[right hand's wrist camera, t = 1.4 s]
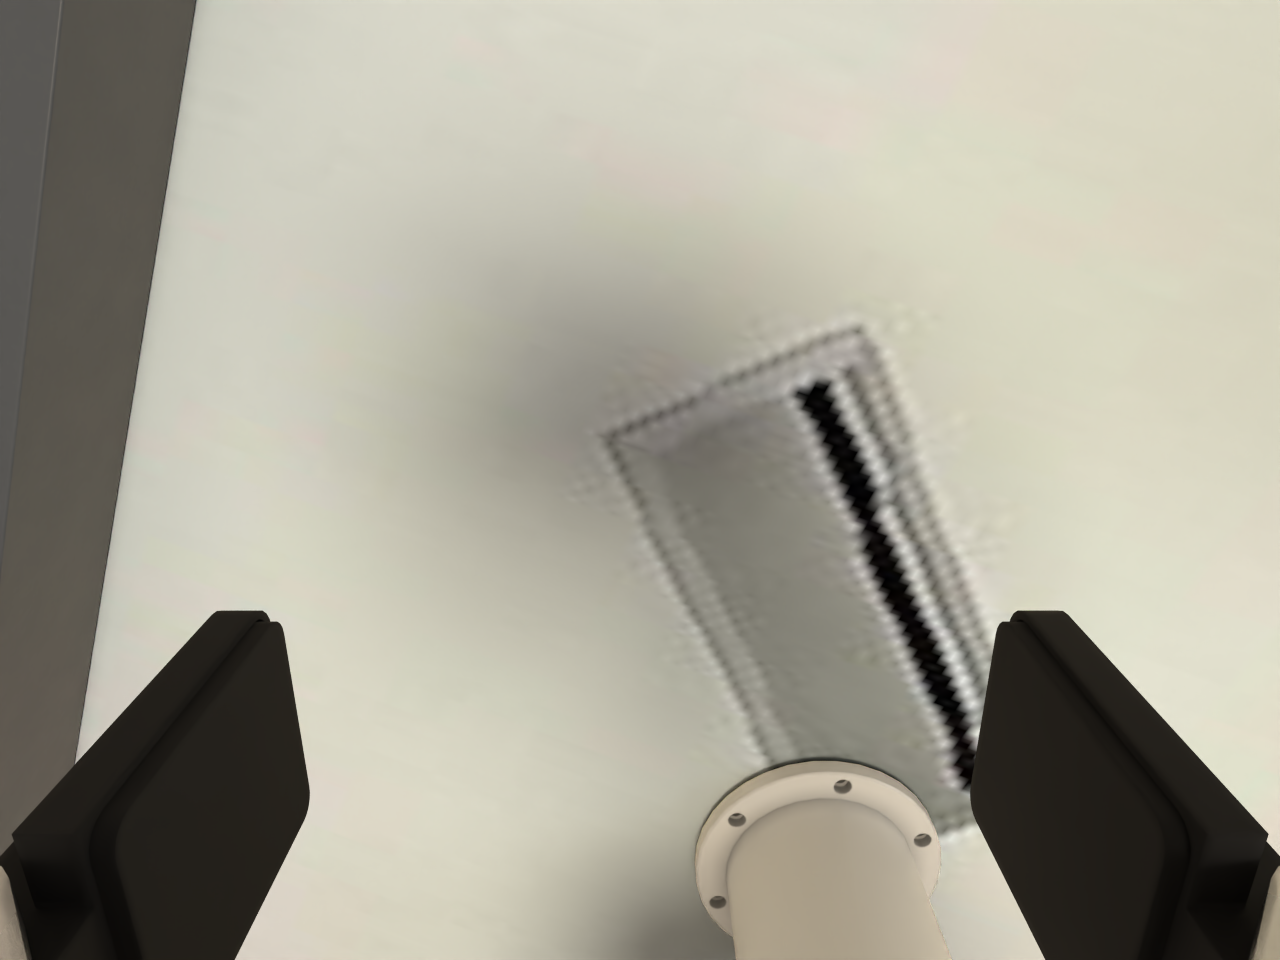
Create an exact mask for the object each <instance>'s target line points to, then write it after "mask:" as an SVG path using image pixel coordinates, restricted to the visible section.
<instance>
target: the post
mask: <svg viewBox="0 0 1280 960" xmlns="http://www.w3.org/2000/svg"><path fill="white" fill-rule="evenodd" d="M195 1H196V0H0V856H1V855H2V854H3V853H4V851H5V850H6V849H7V848H8V847H9V846H10V845H11V844H12V843H13V837H12V833H13V832H14V831H15V830H16V829H17V827H18V826H19V825H20V824H21V823H22V822H23V821H24V820H25V819H26V818H27V816H28V815H29V814H30V813H31V812H32V811H33V810H34V809H35V808H36V807H37V806H38V804H39V803H40V802H41V801H42V800H43V799H44V798H45V797H46V796H47V795H48V794H49V792H50V791H51V790H52V789H53V788H54V787H55V786H56V785H57V784H58V783H59V782H60V780H61V779H62V778H63V777H64V776H65V775H66V774H67V773H68V772H69V771H70V769H71V768H72V767H73V766H74V761H75V755H76V748H77V742H78V736H79V729H80V723H81V717H82V711H83V704H84V698H85V692H86V686H87V679H88V673H89V667H90V660H91V654H92V648H93V642H94V635H95V629H96V623H97V616H98V610H99V604H100V598H101V591H102V585H103V579H104V573H105V566H106V560H107V554H108V547H109V541H110V535H111V529H112V522H113V516H114V510H115V503H116V497H117V491H118V485H119V478H120V472H121V466H122V460H123V453H124V447H125V441H126V434H127V428H128V422H129V416H130V409H131V403H132V397H133V391H134V384H135V378H136V372H137V365H138V359H139V353H140V347H141V340H142V334H143V328H144V321H145V315H146V309H147V303H148V296H149V290H150V284H151V278H152V271H153V265H154V259H155V252H156V246H157V240H158V234H159V227H160V221H161V215H162V208H163V202H164V196H165V190H166V183H167V177H168V171H169V165H170V158H171V152H172V146H173V139H174V133H175V127H176V121H177V114H178V108H179V102H180V95H181V89H182V83H183V77H184V70H185V64H186V58H187V52H188V45H189V39H190V33H191V26H192V20H193V14H194V8H195Z"/></svg>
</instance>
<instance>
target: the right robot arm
mask: <svg viewBox="0 0 1280 960" xmlns="http://www.w3.org/2000/svg"><path fill="white" fill-rule="evenodd" d="M309 798H310V790H309V782H308V776H307V770H306V764H305V758H304V752H303V746H302V740H301V734H300V728H299V722H298V716H297V710H296V704H295V697H294V691H293V685H292V679H291V673H290V667H289V661H288V655H287V649H286V643H285V637H284V632H283V628H282V626H281V624H280V623H278V622H270V619H269V617H268V615H267V614H266V613H265V612H264V611H216V612H215V613H214V614H212V615H211V616H210V618H209V619H208V620H207V621H206V622H205V623H204V624H203V625H202V626H201V627H200V628H199V630H198V631H197V632H196V633H195V634H194V635H193V636H192V637H191V638H190V639H189V640H188V642H187V643H186V644H185V645H184V646H183V647H182V648H181V649H180V650H179V651H178V652H177V654H176V655H175V656H174V657H173V658H172V659H171V660H170V661H169V662H168V663H167V665H166V666H165V667H164V668H163V669H162V670H161V671H160V672H159V673H158V674H157V675H156V677H155V678H154V679H153V680H152V681H151V682H150V683H149V684H148V685H147V686H146V687H145V689H144V690H143V691H142V692H141V693H140V694H139V695H138V696H137V697H136V698H135V700H134V701H133V702H132V703H131V704H130V705H129V706H128V707H127V708H126V709H125V710H124V712H123V713H122V714H121V715H120V716H119V717H118V718H117V719H116V720H115V721H114V722H113V724H112V725H111V726H110V727H109V728H108V729H107V730H106V731H105V732H104V733H103V734H102V736H101V737H100V738H99V739H98V740H97V741H96V742H95V743H94V744H93V745H92V747H91V748H90V749H89V750H88V751H87V752H86V753H85V754H84V755H83V756H82V757H81V759H80V760H79V761H78V762H77V763H76V764H75V765H74V766H73V767H72V768H71V769H70V771H69V772H68V773H67V774H66V775H65V776H64V777H63V778H62V779H61V780H60V782H59V783H58V784H57V785H56V786H55V787H54V788H53V789H52V790H51V791H50V792H49V794H48V795H47V796H46V797H45V798H44V799H43V800H42V801H41V802H40V803H39V804H38V806H37V807H36V808H35V809H34V810H33V811H32V812H31V813H30V814H29V815H28V816H27V818H26V819H25V820H24V821H23V822H22V823H21V824H20V825H19V826H18V827H17V829H16V830H15V831H14V832H13V833H12V837H13V843H12V844H11V845H10V846H9V847H8V848H7V849H6V850H5V851H4V853H3V854H2V855H1V856H0V960H235V958H236V956H237V954H238V952H239V950H240V948H241V946H242V944H243V942H244V940H245V938H246V936H247V934H248V932H249V930H250V928H251V926H252V924H253V922H254V920H255V918H256V916H257V914H258V912H259V910H260V908H261V906H262V904H263V902H264V900H265V898H266V896H267V894H268V892H269V890H270V888H271V886H272V884H273V882H274V880H275V878H276V876H277V874H278V872H279V870H280V868H281V866H282V864H283V862H284V860H285V858H286V856H287V854H288V852H289V850H290V848H291V846H292V844H293V842H294V840H295V838H296V836H297V834H298V832H299V830H300V828H301V826H302V824H303V822H304V819H305V817H306V814H307V811H308V806H309ZM970 798H971V806H972V811H973V814H974V817H975V819H976V822H977V824H978V826H979V828H980V830H981V832H982V834H983V836H984V838H985V840H986V842H987V844H988V846H989V848H990V850H991V852H992V854H993V856H994V858H995V860H996V862H997V864H998V866H999V868H1000V870H1001V872H1002V874H1003V876H1004V878H1005V880H1006V882H1007V884H1008V886H1009V888H1010V890H1011V892H1012V894H1013V896H1014V898H1015V900H1016V902H1017V904H1018V906H1019V908H1020V910H1021V912H1022V914H1023V916H1024V918H1025V920H1026V922H1027V924H1028V926H1029V928H1030V930H1031V932H1032V934H1033V936H1034V938H1035V940H1036V942H1037V944H1038V946H1039V948H1040V950H1041V952H1042V954H1043V956H1044V958H1045V960H1280V856H1279V855H1278V854H1277V853H1276V851H1275V850H1274V849H1273V848H1272V847H1271V846H1270V845H1269V844H1268V843H1267V837H1268V833H1267V832H1266V831H1265V830H1264V829H1263V827H1262V826H1261V825H1260V824H1259V823H1258V822H1257V821H1256V820H1255V819H1254V818H1253V817H1252V815H1251V814H1250V813H1249V812H1248V811H1247V810H1246V809H1245V808H1244V807H1243V806H1242V804H1241V803H1240V802H1239V801H1238V800H1237V799H1236V798H1235V797H1234V796H1233V795H1232V794H1231V792H1230V791H1229V790H1228V789H1227V788H1226V787H1225V786H1224V785H1223V784H1222V783H1221V782H1220V780H1219V779H1218V778H1217V777H1216V776H1215V775H1214V774H1213V773H1212V772H1211V771H1210V769H1209V768H1208V767H1207V766H1206V765H1205V764H1204V763H1203V762H1202V761H1201V760H1200V759H1199V757H1198V756H1197V755H1196V754H1195V753H1194V752H1193V751H1192V750H1191V749H1190V748H1189V747H1188V745H1187V744H1186V743H1185V742H1184V741H1183V740H1182V739H1181V738H1180V737H1179V736H1178V734H1177V733H1176V732H1175V731H1174V730H1173V729H1172V728H1171V727H1170V726H1169V725H1168V724H1167V722H1166V721H1165V720H1164V719H1163V718H1162V717H1161V716H1160V715H1159V714H1158V713H1157V712H1156V710H1155V709H1154V708H1153V707H1152V706H1151V705H1150V704H1149V703H1148V702H1147V701H1146V700H1145V698H1144V697H1143V696H1142V695H1141V694H1140V693H1139V692H1138V691H1137V690H1136V689H1135V687H1134V686H1133V685H1132V684H1131V683H1130V682H1129V681H1128V680H1127V679H1126V678H1125V677H1124V675H1123V674H1122V673H1121V672H1120V671H1119V670H1118V669H1117V668H1116V667H1115V666H1114V665H1113V663H1112V662H1111V661H1110V660H1109V659H1108V658H1107V657H1106V656H1105V655H1104V654H1103V652H1102V651H1101V650H1100V649H1099V648H1098V647H1097V646H1096V645H1095V644H1094V643H1093V642H1092V640H1091V639H1090V638H1089V637H1088V636H1087V635H1086V634H1085V633H1084V632H1083V631H1082V630H1081V628H1080V627H1079V626H1078V625H1077V624H1076V623H1075V622H1074V621H1073V620H1072V619H1071V618H1070V616H1069V615H1068V614H1066V613H1065V612H1064V611H1016V612H1015V613H1014V614H1013V615H1012V617H1011V619H1010V622H1002V623H1000V624H999V626H998V628H997V632H996V637H995V643H994V649H993V655H992V661H991V667H990V673H989V679H988V685H987V691H986V697H985V703H984V710H983V716H982V722H981V728H980V734H979V740H978V746H977V752H976V758H975V764H974V770H973V776H972V782H971V790H970ZM940 868H941V847H940V843H939V840H938V836H937V833H936V830H935V827H934V825H933V823H932V821H931V819H930V817H929V814H928V812H927V810H926V809H925V807H924V806H923V805H922V803H921V802H920V801H919V799H918V798H917V797H916V795H915V794H913V793H912V792H911V791H910V790H909V789H907V788H906V787H905V786H904V785H903V784H902V783H900V782H899V781H897V780H895V779H893V778H892V777H890V776H888V775H886V774H884V773H883V772H880V771H877V770H874V769H871V768H868V767H865V766H862V765H859V764H853V763H846V762H840V761H810V762H803V763H797V764H791V765H786V766H783V767H780V768H777V769H774V770H771V771H768V772H765V773H763V774H761V775H759V776H757V777H755V778H753V779H751V780H749V781H747V782H745V783H744V784H742V785H741V786H740V787H738V788H737V789H736V790H734V791H733V792H732V793H730V794H729V795H728V796H726V797H725V799H724V800H723V801H722V802H721V803H720V804H719V805H718V806H717V807H716V808H715V809H714V810H713V812H712V813H711V815H710V816H709V818H708V820H707V821H706V823H705V825H704V826H703V828H702V831H701V834H700V837H699V839H698V842H697V845H696V856H695V870H696V883H697V887H698V891H699V894H700V898H701V901H702V903H703V905H704V906H705V908H706V910H707V912H708V913H709V915H710V917H711V918H712V919H713V920H714V921H715V922H716V923H717V924H718V925H719V926H720V928H721V929H722V930H723V931H725V932H726V933H727V934H729V935H730V936H732V937H733V939H734V947H735V955H736V960H952V958H951V956H950V953H949V951H948V948H947V945H946V943H945V940H944V938H943V935H942V932H941V930H940V927H939V924H938V922H937V919H936V917H935V914H934V911H933V909H932V906H931V904H930V901H929V899H930V897H931V895H932V893H933V891H934V889H935V887H936V884H937V882H938V877H939V873H940Z"/></svg>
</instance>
